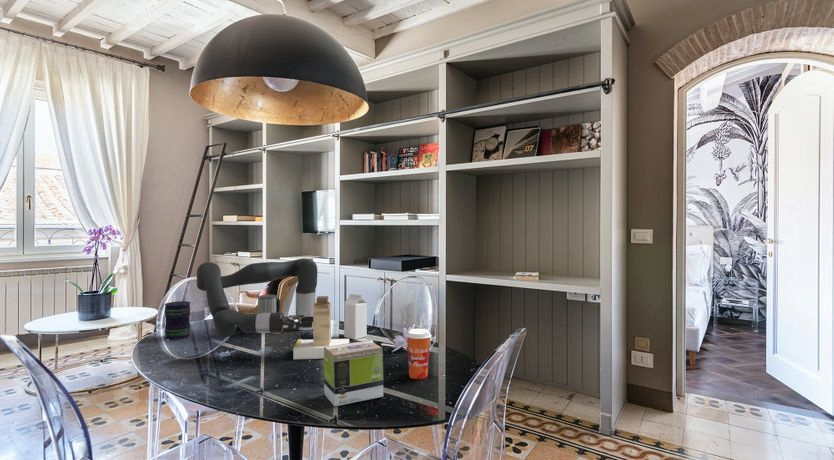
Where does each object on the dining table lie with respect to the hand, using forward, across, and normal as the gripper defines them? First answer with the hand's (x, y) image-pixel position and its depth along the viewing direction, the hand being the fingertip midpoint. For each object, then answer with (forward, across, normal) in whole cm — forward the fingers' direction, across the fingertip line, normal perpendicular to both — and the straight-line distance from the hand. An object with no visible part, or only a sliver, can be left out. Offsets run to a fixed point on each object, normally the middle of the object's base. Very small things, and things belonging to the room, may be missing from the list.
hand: (313, 321), depth 170 cm
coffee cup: (+37, -28, +13) cm, 48 cm away
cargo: (+3, 0, -6) cm, 6 cm away
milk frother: (-30, +50, +13) cm, 60 cm away
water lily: (+35, +3, +13) cm, 38 cm away
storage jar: (-62, +30, +13) cm, 70 cm away
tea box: (+16, -43, +13) cm, 48 cm away
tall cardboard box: (+3, 0, +8) cm, 9 cm away
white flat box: (+3, 0, +12) cm, 13 cm away
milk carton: (+15, +24, +13) cm, 31 cm away
